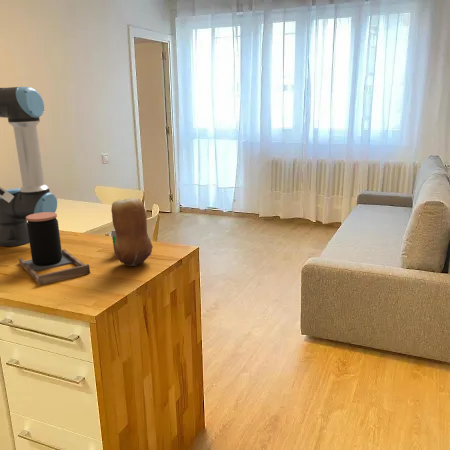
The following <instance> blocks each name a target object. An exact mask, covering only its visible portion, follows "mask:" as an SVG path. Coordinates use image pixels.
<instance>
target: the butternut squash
mask: <svg viewBox="0 0 450 450" xmlns="http://www.w3.org/2000/svg"><path fill="white" fill-rule="evenodd" d="M110 212H111V219H112V226H113V228H114V231H116V240H115V245H114V246H113V250H114V249H115V253H114V255H115V256H116V259H117V260H118V261H119V262H120V263H121V264H124V265H127V266H130V267H138V266H139V265H140V266H141V265H142V264H144V263H145V261H146V260H147V259H148V258H149V257H150V255H151V254H152V253H153V247H154V246H153V244H152V241H151V239H150V237H149V235H148V224H147V223H148V221H147V220H148V219H147V218H148V217H147V213H146V208H145V204H144V202H143V201H142V200H141V199H140V198H137V197H131V198H126V199H118V200H115V201H113V202H112V204H111V211H110Z"/></svg>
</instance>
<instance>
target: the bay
mask: <svg viewBox="0 0 450 450" xmlns="http://www.w3.org/2000/svg"><path fill="white" fill-rule="evenodd" d="M61 250H62V254H64V255H65V256H66V257H67V258H69V259H70V260H71V261H73V263H72V264H74V265H75V266H73V267H70V268H65V269H62V270H56V271H53V272H48V273H44V274H38V273H37V271H34V270H33V269H32V268H31V267H30V266H29V265H28V264H27V263H26V262H25V261H26V260H24V259H23V258H22V257H20V258H18V260H19V264H20V265H21V266H22V267H23V269H24V270H26V272H27V273H28V274H29V276H31V278H33V279H34V281H36V282H37V284H39V286H42V285H46V284H51V283H55V282H59V281H62V280H63V281H64V280H67V279H73V278H75V277H79V276H83V275H87V274H88V275H89V274H91V269H90V268H91V267H90V265H89V264H88V263H87V264H84V263H83V262H82V261H81V260H79V259H78V258H77V257H75V255H73V254H72V253H70V252H69V251H67V250H66V249H61Z"/></svg>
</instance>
